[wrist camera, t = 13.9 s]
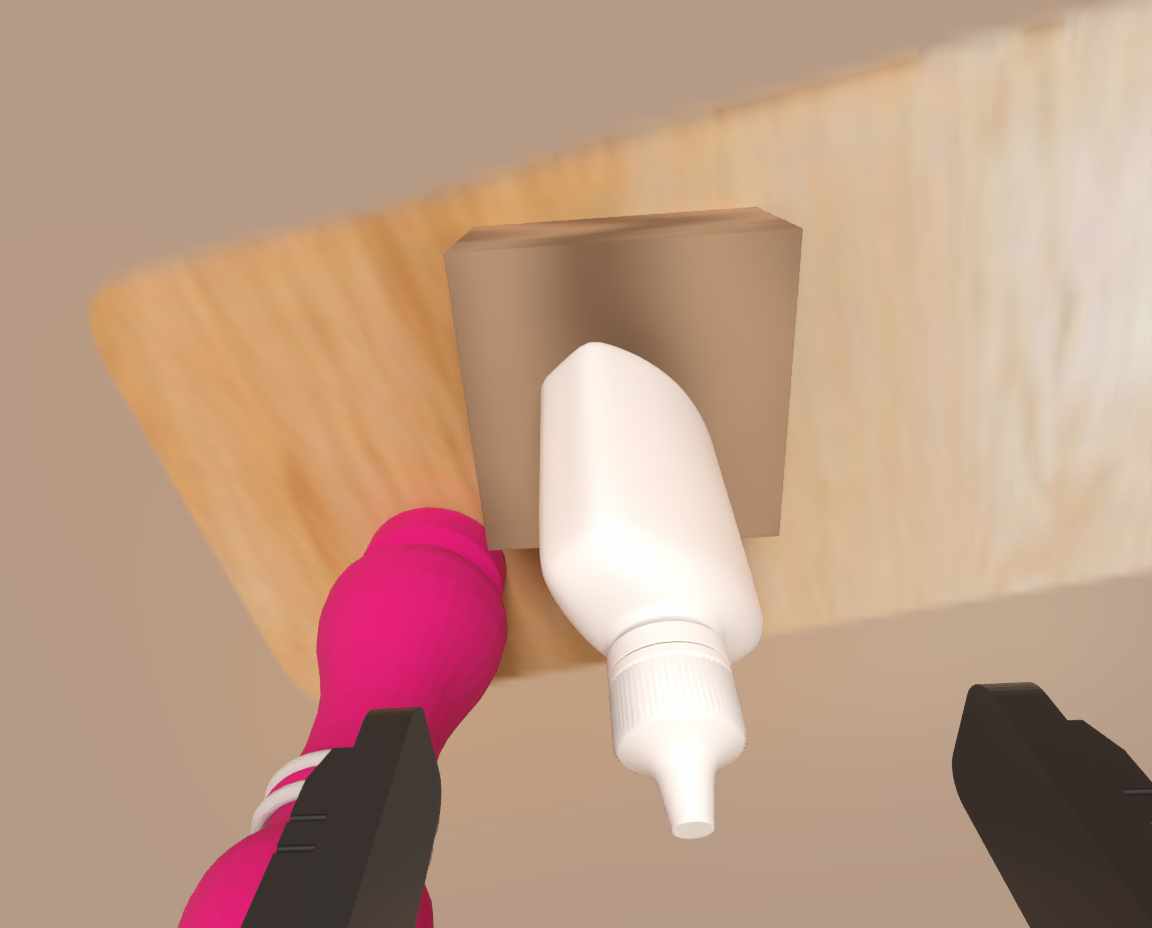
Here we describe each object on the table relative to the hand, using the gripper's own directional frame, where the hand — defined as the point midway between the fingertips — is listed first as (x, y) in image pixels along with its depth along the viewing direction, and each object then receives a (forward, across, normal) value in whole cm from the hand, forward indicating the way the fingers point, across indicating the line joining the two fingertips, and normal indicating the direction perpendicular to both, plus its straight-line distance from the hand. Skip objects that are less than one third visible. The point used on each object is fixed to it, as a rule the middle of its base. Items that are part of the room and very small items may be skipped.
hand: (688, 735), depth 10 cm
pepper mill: (+18, +9, +9) cm, 22 cm away
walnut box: (+18, 0, 0) cm, 18 cm away
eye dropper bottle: (+12, 0, -1) cm, 12 cm away
